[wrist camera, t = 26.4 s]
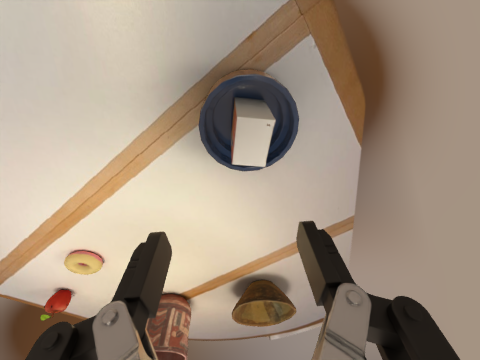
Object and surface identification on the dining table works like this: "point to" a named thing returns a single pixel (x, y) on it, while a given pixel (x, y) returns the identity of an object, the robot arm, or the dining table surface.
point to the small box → (251, 132)
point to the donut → (83, 262)
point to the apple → (57, 303)
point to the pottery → (170, 328)
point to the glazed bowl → (222, 106)
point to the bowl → (263, 305)
